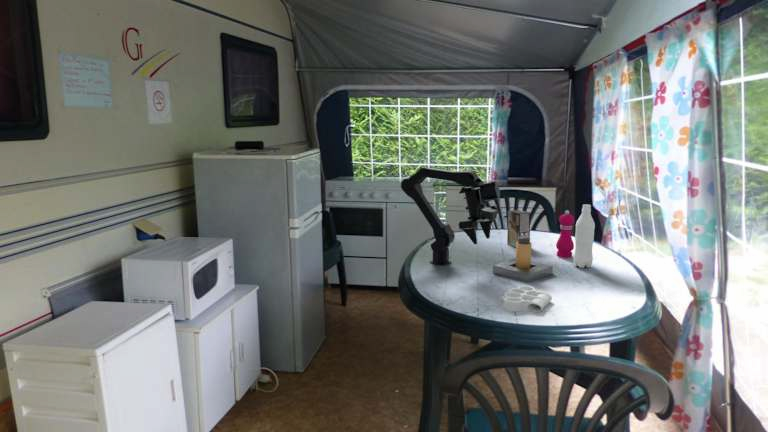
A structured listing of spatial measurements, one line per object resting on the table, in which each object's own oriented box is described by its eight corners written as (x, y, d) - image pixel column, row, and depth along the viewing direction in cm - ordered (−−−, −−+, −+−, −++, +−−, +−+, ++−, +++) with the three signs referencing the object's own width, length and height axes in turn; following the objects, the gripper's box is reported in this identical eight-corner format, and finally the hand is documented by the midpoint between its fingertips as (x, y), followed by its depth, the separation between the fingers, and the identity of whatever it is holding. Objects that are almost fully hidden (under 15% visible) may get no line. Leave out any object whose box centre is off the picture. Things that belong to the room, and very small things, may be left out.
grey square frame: (528, 282, 192) (529, 274, 192) (492, 272, 204) (493, 265, 203) (552, 273, 203) (552, 265, 202) (516, 264, 214) (517, 257, 214)
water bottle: (593, 269, 208) (598, 206, 203) (574, 268, 209) (578, 206, 204) (590, 264, 215) (594, 203, 210) (571, 263, 216) (575, 203, 211)
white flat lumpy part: (538, 317, 160) (492, 308, 168) (554, 300, 175) (511, 292, 183) (538, 307, 160) (492, 298, 167) (554, 290, 175) (511, 283, 182)
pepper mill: (570, 254, 230) (573, 208, 227) (575, 258, 223) (578, 212, 220) (553, 253, 231) (556, 208, 227) (557, 258, 224) (560, 211, 220)
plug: (518, 275, 200) (520, 235, 197) (512, 271, 206) (514, 232, 202) (532, 274, 201) (534, 235, 198) (526, 270, 206) (528, 231, 203)
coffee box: (530, 247, 243) (531, 212, 240) (519, 248, 240) (520, 213, 237) (517, 242, 251) (518, 209, 248) (506, 244, 248) (507, 210, 245)
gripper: (478, 205, 195) (486, 246, 196) (504, 195, 208) (511, 234, 209) (454, 208, 202) (462, 247, 204) (480, 199, 216) (487, 236, 217)
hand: (482, 241), depth 208 cm, fingers open, 9 cm apart
